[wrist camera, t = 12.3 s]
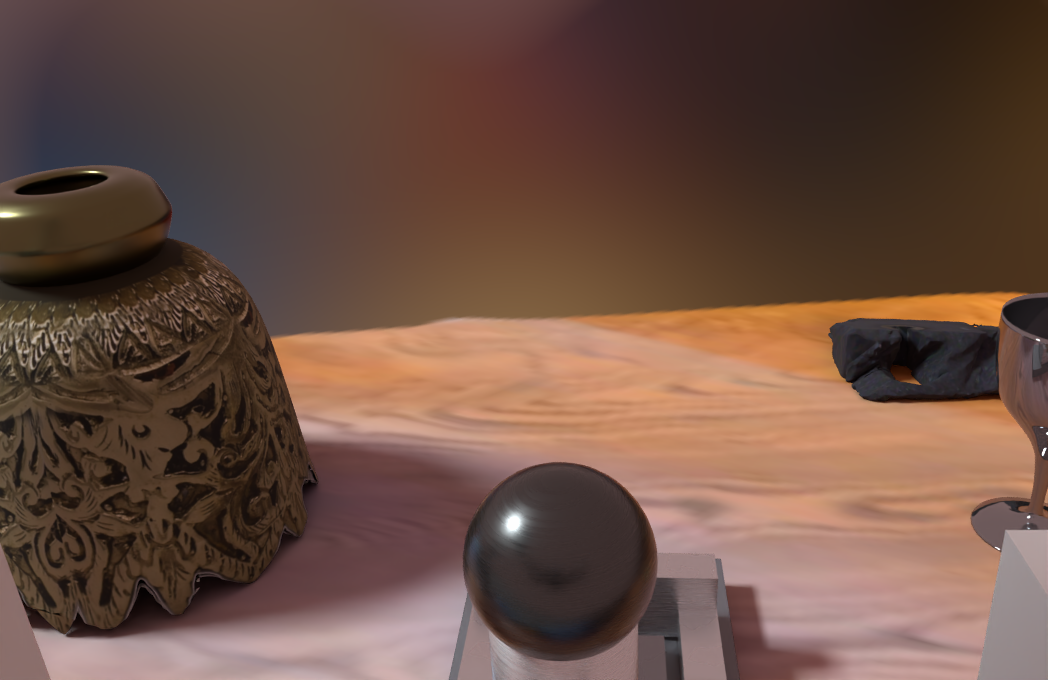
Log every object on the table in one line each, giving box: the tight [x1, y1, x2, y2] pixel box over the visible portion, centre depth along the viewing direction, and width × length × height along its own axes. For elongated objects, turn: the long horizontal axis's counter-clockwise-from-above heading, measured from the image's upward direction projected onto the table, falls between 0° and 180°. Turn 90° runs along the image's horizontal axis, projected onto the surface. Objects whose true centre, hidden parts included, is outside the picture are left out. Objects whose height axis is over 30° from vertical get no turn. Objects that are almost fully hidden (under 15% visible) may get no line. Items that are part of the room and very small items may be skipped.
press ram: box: [457, 462, 727, 680], centre depth 36 cm, size 13×24×23 cm, turn 175°
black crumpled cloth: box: [828, 318, 1000, 401], centre depth 80 cm, size 15×22×5 cm
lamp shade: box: [0, 165, 318, 634], centre depth 61 cm, size 23×23×25 cm
